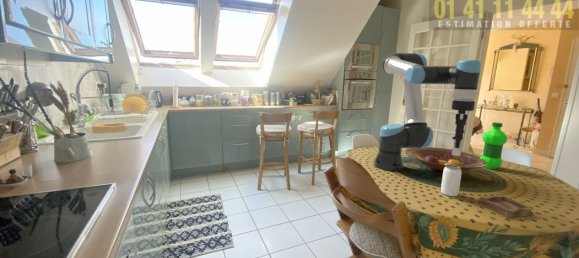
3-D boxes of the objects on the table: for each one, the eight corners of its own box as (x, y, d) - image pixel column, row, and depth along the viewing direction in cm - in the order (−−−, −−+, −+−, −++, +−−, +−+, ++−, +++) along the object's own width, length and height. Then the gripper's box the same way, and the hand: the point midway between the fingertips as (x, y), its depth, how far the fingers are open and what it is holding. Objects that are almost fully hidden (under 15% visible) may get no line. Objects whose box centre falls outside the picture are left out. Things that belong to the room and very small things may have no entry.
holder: (506, 218, 91) (507, 211, 90) (477, 202, 102) (478, 196, 101) (532, 215, 93) (534, 209, 92) (501, 200, 104) (502, 194, 103)
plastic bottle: (503, 171, 135) (512, 125, 130) (479, 168, 140) (486, 123, 135) (499, 166, 144) (508, 122, 138) (477, 163, 149) (484, 120, 144)
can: (437, 191, 112) (440, 165, 109) (447, 189, 114) (451, 163, 111) (450, 198, 106) (454, 170, 103) (461, 195, 108) (466, 168, 105)
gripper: (476, 103, 90) (467, 161, 94) (474, 98, 110) (466, 146, 114) (451, 102, 94) (443, 157, 98) (453, 97, 114) (447, 143, 118)
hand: (456, 151), depth 106 cm, fingers open, 13 cm apart
